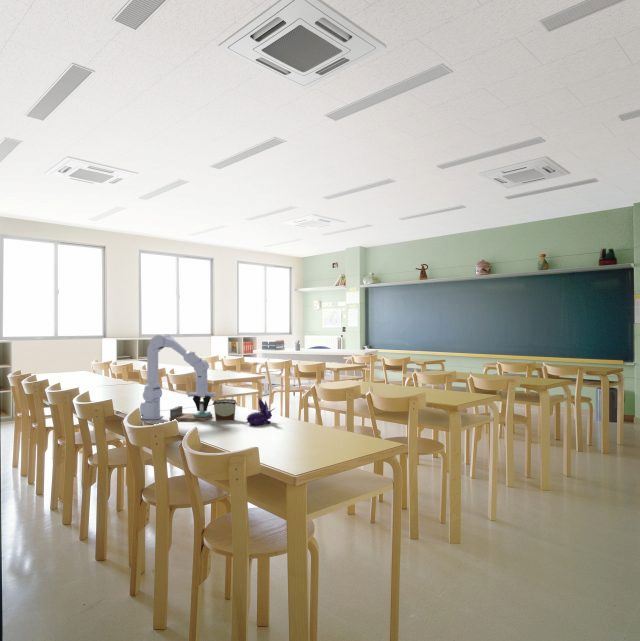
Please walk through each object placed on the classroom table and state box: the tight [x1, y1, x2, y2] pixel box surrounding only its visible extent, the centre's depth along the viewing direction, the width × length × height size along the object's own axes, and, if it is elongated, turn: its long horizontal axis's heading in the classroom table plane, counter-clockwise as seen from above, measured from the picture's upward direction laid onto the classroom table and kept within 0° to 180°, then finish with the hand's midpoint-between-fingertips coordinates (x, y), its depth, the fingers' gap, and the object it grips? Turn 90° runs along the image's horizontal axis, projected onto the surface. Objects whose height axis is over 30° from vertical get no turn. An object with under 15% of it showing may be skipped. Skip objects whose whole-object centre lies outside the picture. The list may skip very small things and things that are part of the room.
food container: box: [212, 398, 238, 422], centre depth 247 cm, size 12×6×10 cm, turn 84°
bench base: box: [168, 405, 213, 423], centre depth 250 cm, size 18×12×6 cm, turn 81°
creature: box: [244, 397, 276, 426], centre depth 236 cm, size 9×18×12 cm, turn 127°
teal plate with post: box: [193, 400, 212, 417], centre depth 249 cm, size 6×8×7 cm
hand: (202, 410), depth 249 cm, fingers open, 3 cm apart
